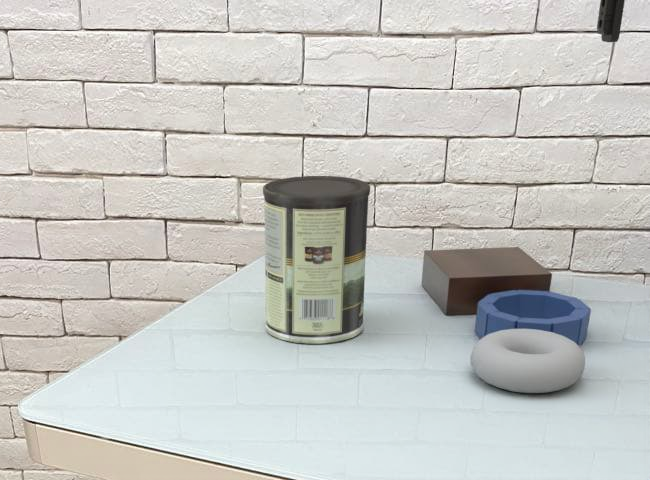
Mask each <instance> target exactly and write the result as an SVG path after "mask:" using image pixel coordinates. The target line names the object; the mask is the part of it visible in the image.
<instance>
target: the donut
mask: <svg viewBox="0 0 650 480" xmlns="http://www.w3.org/2000/svg"><path fill="white" fill-rule="evenodd" d="M469 358H470V359H469V360H470V365H471V367H472V370H473V372H474V373H475V375H476V376H477V377H478V378H479V379H481V380H482V381H483V382H484V383H486V384H489V385H491V386H494V387H496V388H498V389H501V390H506V391H509V392H513V393H522V394H544V393H552V392H557V391H558V392H559V391H561V390H564V389H566V388H569V387H571V386H572V385H574V384H575V383H576V382H577V381H578V380H579V379H580V378H581V377H582V376H583V374H584V372H585V370H586V369H585V367H586V356H585V353H584V350H583V349H581V347H580V346H578V345H577V344H576V343H575V342H574V341H572V340H570V339H568V338H566V337H564V336H562V335H559V334H556V333H553V332H548V331H543V330H536V329H508V330H501V331H497V332H494V333H490V334H488V335H486V336H485V337H483V338H482V339H480V338H479V340H477V341H476V343H475V344H474V346H473V347H472V350H471V352H470V357H469Z"/></svg>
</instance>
